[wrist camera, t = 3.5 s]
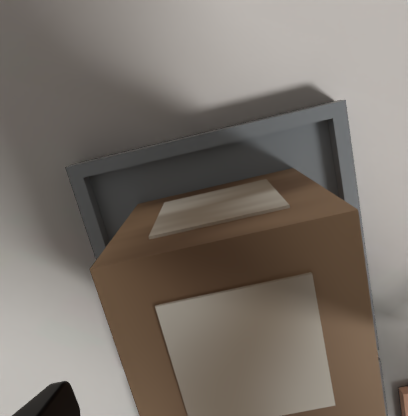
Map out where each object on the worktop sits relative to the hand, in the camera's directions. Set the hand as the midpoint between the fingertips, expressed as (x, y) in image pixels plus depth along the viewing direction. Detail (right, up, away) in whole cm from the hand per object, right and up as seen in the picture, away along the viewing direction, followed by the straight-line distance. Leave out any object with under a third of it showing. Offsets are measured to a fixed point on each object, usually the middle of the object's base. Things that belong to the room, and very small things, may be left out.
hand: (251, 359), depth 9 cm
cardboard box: (0, +2, +6) cm, 6 cm away
